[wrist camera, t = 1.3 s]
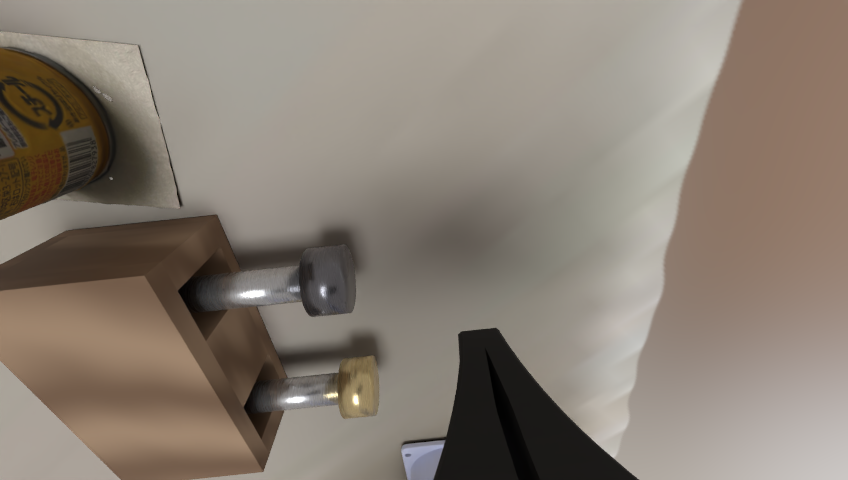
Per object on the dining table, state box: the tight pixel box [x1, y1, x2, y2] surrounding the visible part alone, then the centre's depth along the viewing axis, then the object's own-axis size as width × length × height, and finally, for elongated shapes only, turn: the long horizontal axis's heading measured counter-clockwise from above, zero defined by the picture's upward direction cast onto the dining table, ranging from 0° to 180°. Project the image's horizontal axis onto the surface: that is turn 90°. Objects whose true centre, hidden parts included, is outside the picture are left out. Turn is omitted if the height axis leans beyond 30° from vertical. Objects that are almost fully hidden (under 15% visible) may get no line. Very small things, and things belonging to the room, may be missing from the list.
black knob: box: [178, 245, 356, 317], centre depth 17 cm, size 3×9×3 cm, turn 95°
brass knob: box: [243, 355, 379, 419], centre depth 21 cm, size 3×9×3 cm, turn 95°
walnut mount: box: [0, 215, 287, 480], centre depth 19 cm, size 14×8×6 cm, turn 5°
